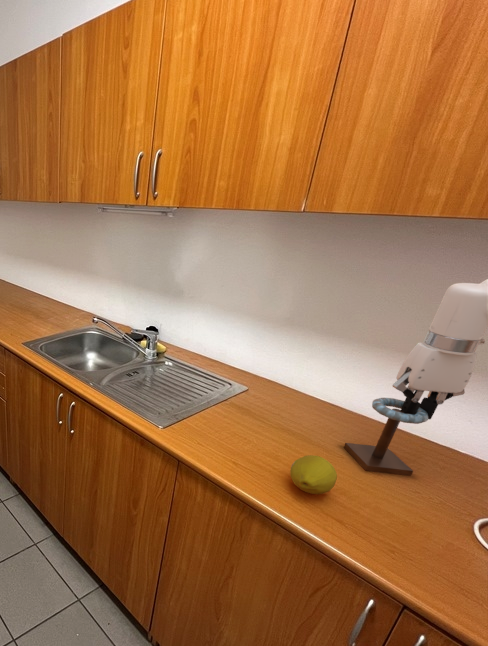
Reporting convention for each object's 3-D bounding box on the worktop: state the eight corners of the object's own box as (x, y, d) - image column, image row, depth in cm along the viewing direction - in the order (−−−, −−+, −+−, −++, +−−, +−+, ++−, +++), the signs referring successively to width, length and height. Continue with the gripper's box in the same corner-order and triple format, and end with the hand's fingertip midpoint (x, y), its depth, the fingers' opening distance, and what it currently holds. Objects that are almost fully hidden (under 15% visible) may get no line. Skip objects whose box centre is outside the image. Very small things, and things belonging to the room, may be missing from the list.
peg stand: (384, 451, 100) (407, 402, 94) (410, 476, 92) (437, 423, 86) (343, 447, 102) (363, 399, 96) (365, 470, 94) (388, 419, 88)
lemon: (300, 470, 94) (310, 443, 91) (339, 491, 88) (351, 462, 85) (274, 486, 90) (284, 457, 87) (313, 509, 83) (325, 480, 80)
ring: (406, 405, 95) (410, 398, 94) (437, 427, 87) (441, 419, 86) (361, 401, 97) (364, 394, 96) (387, 422, 88) (391, 415, 88)
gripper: (481, 338, 85) (444, 410, 93) (393, 333, 89) (363, 403, 96) (515, 352, 79) (472, 428, 86) (418, 345, 82) (384, 420, 89)
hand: (415, 414), depth 91 cm, fingers closed on ring, 2 cm apart
